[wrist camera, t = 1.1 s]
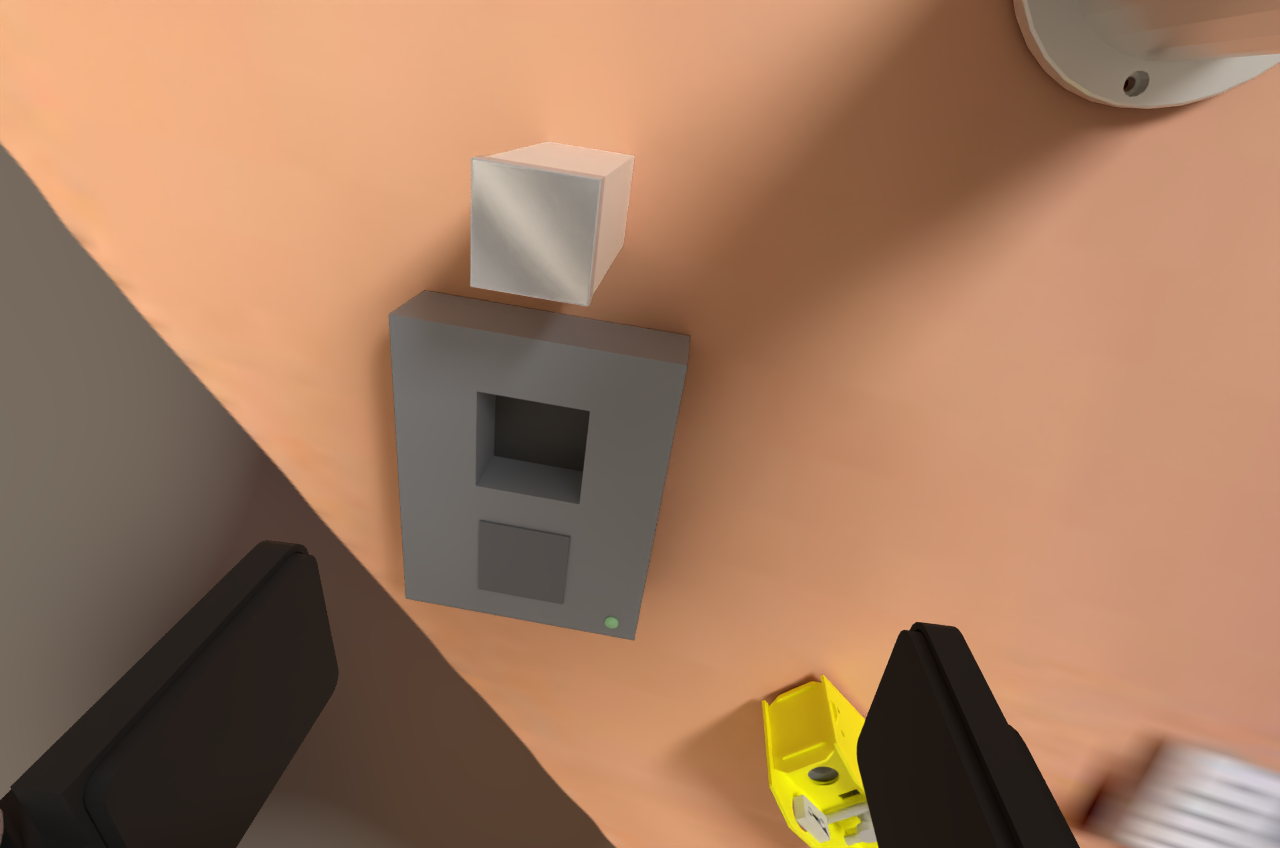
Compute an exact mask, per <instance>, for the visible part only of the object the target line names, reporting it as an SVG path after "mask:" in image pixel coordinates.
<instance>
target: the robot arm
mask: <svg viewBox="0 0 1280 848" xmlns="http://www.w3.org/2000/svg"><path fill="white" fill-rule="evenodd" d="M1013 3H1014V9H1015V15H1016V19H1017V21H1018V24H1019V27H1020V29H1021V32H1022V34H1023V37H1024V40H1025V42H1026V45H1027V47H1028V48H1029V50H1030V51H1031V53H1032V54H1033V56H1034V57H1035V58H1036V60H1037V61H1038V63H1039V64H1040V66H1041V67H1042V69H1043V70H1044V71H1045V72H1046V73H1047V74H1048V75H1050V76H1051V77H1052V78H1053V79H1054V80H1055V81H1057V82H1058V83H1059V84H1060V85H1061V86H1062V87H1064V88H1065V89H1066V90H1068V91H1070V92H1072V93H1074V94H1076V95H1079V96H1081V97H1083V98H1085V99H1087V100H1089V101H1091V102H1095V103H1100V104H1105V105H1109V106H1114V107H1118V108H1141V109H1151V108H1161V107H1172V106H1182V105H1185V104H1189V103H1193V102H1196V101H1200V100H1203V99H1207V98H1211V97H1214V96H1218V95H1220V94H1222V93H1224V92H1227V91H1229V90H1231V89H1233V88H1236V87H1238V86H1240V85H1242V84H1245V83H1247V82H1249V81H1251V80H1253V79H1255V78H1257V77H1258V76H1260V75H1262V74H1263V73H1265V72H1267V71H1268V70H1270V69H1271V68H1273V67H1275V66H1276V65H1278V64H1279V63H1280V0H1013ZM1127 78H1128V81H1129V83H1128V86H1127V88H1126V89H1125V90H1123V88H1124V83H1125V81H1126V79H1127ZM337 680H338V666H337V661H336V656H335V651H334V646H333V641H332V636H331V631H330V626H329V621H328V616H327V611H326V606H325V601H324V596H323V591H322V586H321V581H320V576H319V571H318V565H317V562H316V559H315V557H314V556H312V555H309V554H308V552H307V549H306V548H305V547H304V546H303V545H300V544H293V543H285V542H277V541H269V540H266V541H262V542H260V543H259V544H258V545H256V546H255V547H254V548H253V549H252V550H251V551H250V552H249V553H248V554H247V555H246V556H245V557H244V558H243V559H242V560H241V561H240V562H239V563H238V564H237V565H236V566H235V567H234V568H233V569H232V570H231V571H230V572H229V573H228V574H227V575H226V576H225V577H224V578H223V579H221V580H220V581H219V583H217V584H216V586H214V587H213V588H212V589H211V590H210V591H209V592H208V593H207V594H206V595H205V596H204V597H203V598H202V599H201V600H200V601H199V602H198V603H197V604H196V605H195V606H194V607H193V608H192V609H191V610H190V611H189V612H188V613H187V614H186V615H185V616H184V617H183V618H182V619H181V620H180V621H179V622H178V623H177V624H176V625H175V626H174V627H173V628H172V629H171V630H170V631H169V632H168V633H166V634H165V636H164V637H162V638H161V640H159V641H158V642H157V643H156V644H155V645H154V646H153V647H152V648H151V649H150V650H149V651H148V652H147V653H146V654H145V655H144V656H143V657H142V658H141V659H140V660H139V661H138V662H137V663H136V664H135V665H134V666H133V667H132V668H131V669H130V670H129V671H128V672H127V673H126V674H125V675H124V676H123V677H122V678H121V679H120V680H119V681H118V682H117V683H116V684H115V685H114V686H113V687H112V688H110V689H109V690H108V691H107V692H106V693H105V694H104V695H103V696H102V697H101V698H100V699H99V700H98V701H97V702H96V703H95V704H94V705H93V706H92V707H91V708H90V709H89V710H88V711H87V712H86V713H85V714H84V715H83V716H82V717H81V718H80V719H79V720H78V721H77V722H76V723H75V724H74V725H73V726H72V727H71V728H70V729H69V730H68V731H67V732H66V733H65V734H64V735H63V736H62V737H61V738H60V739H59V740H57V741H56V742H55V743H54V744H53V746H51V747H50V748H49V749H48V750H47V751H46V752H45V753H44V754H43V755H42V756H41V757H40V758H39V759H38V760H37V761H36V762H35V763H34V764H33V765H32V766H31V767H30V768H29V769H28V770H27V771H26V772H25V773H24V774H23V775H22V776H21V777H20V778H19V779H18V780H17V781H16V782H15V783H14V784H13V785H12V786H11V790H10V791H9V792H8V793H7V794H6V795H5V796H4V797H3V798H2V799H1V800H0V848H236V847H237V846H238V844H239V842H240V841H241V839H242V838H243V836H244V834H245V833H246V831H247V830H248V828H249V826H250V825H251V823H252V822H253V820H254V818H255V817H256V815H257V814H258V812H259V810H260V809H261V807H262V806H263V804H264V802H265V801H266V799H267V798H268V796H269V794H270V793H271V791H272V790H273V788H274V786H275V785H276V783H277V782H278V780H279V778H280V777H281V775H282V774H283V772H284V770H285V769H286V767H287V766H288V764H289V763H290V761H291V759H292V758H293V756H294V754H295V753H296V751H297V750H298V748H299V746H300V745H301V743H302V742H303V740H304V739H305V737H306V735H307V734H308V732H309V730H310V729H311V727H312V726H313V724H314V723H315V721H316V719H317V718H318V716H319V715H320V713H321V711H322V710H323V708H324V707H325V705H326V703H327V702H328V700H329V699H330V697H331V695H332V694H333V692H334V690H335V687H336V684H337ZM857 762H858V767H859V771H860V775H861V779H862V783H863V787H864V791H865V795H866V799H867V803H868V807H869V811H870V815H871V819H872V824H873V828H874V832H875V836H876V840H877V844H878V848H1080V847H1079V845H1078V843H1077V841H1076V839H1075V837H1074V835H1073V834H1072V832H1071V830H1070V828H1069V826H1068V824H1067V822H1066V820H1065V818H1064V816H1063V814H1062V813H1061V811H1060V809H1059V807H1058V805H1057V803H1056V801H1055V799H1054V797H1053V795H1052V793H1051V792H1050V790H1049V788H1048V786H1047V784H1046V782H1045V780H1044V778H1043V776H1042V774H1041V772H1040V771H1039V769H1038V767H1037V765H1036V763H1035V761H1034V759H1033V757H1032V755H1031V753H1030V751H1029V749H1028V748H1027V746H1026V744H1025V742H1024V741H1023V739H1022V738H1021V736H1020V735H1019V733H1018V732H1017V731H1016V730H1015V729H1014V728H1013V727H1012V726H1010V725H1008V723H1007V721H1006V719H1005V717H1004V715H1003V713H1002V711H1001V709H1000V708H999V706H998V704H997V702H996V700H995V698H994V696H993V694H992V692H991V690H990V688H989V686H988V684H987V682H986V680H985V678H984V676H983V674H982V672H981V670H980V668H979V666H978V664H977V663H976V661H975V659H974V657H973V655H972V653H971V651H970V649H969V647H968V645H967V643H966V641H965V639H964V637H963V635H962V634H961V632H960V631H959V629H957V628H956V627H953V626H945V625H937V624H929V623H922V622H916V623H914V624H913V625H912V627H911V629H910V631H908V630H902V631H901V632H900V634H899V636H898V638H897V641H896V643H895V646H894V648H893V651H892V653H891V656H890V659H889V661H888V664H887V666H886V669H885V671H884V674H883V676H882V679H881V682H880V684H879V687H878V689H877V692H876V694H875V697H874V699H873V702H872V704H871V707H870V710H869V712H868V715H867V717H866V720H865V722H864V725H863V727H862V730H861V732H860V735H859V738H858V741H857Z"/></svg>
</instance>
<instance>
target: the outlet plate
mask: <svg viewBox="0 0 1280 848" xmlns="http://www.w3.org/2000/svg"><path fill="white" fill-rule="evenodd" d="M389 327H390V344H391V361H392V377H393V394H394V411H395V427H396V444H397V461H398V478H399V494H400V511H401V528H402V544H403V561H404V578H405V595H406V599H411V600H416V601H422V602H427V603H433V604H438V605H444V606H449V607H455V608H460V609H466V610H471V611H476V612H482V613H487V614H493V615H498V616H504V617H509V618H515V619H520V620H525V621H531V622H536V623H542V624H547V625H553V626H558V627H564V628H569V629H574V630H580V631H585V632H591V633H596V634H602V635H607V636H613V637H618V638H624V639H629V640H634V639H635V633H636V628H637V623H638V618H639V613H640V608H641V603H642V597H643V592H644V587H645V582H646V577H647V572H648V567H649V561H650V556H651V551H652V546H653V541H654V536H655V531H656V525H657V520H658V515H659V510H660V505H661V500H662V495H663V489H664V484H665V479H666V474H667V469H668V464H669V459H670V453H671V448H672V443H673V438H674V433H675V428H676V423H677V417H678V412H679V407H680V402H681V397H682V392H683V387H684V381H685V376H686V371H687V366H688V355H689V344H690V336H689V335H683V334H677V333H671V332H665V331H659V330H653V329H648V328H642V327H636V326H630V325H624V324H618V323H613V322H607V321H601V320H595V319H589V318H583V317H577V316H572V315H566V314H560V313H554V312H548V311H542V310H537V309H531V308H525V307H519V306H513V305H507V304H501V303H496V302H490V301H484V300H478V299H472V298H466V297H461V296H455V295H449V294H443V293H437V292H431V291H425V290H424V291H423V292H421V293H420V294H418V295H417V296H415V297H414V298H412V299H411V300H409V301H408V302H406V303H405V304H403V305H402V306H400V307H399V308H397V309H396V310H394V311H393V312H391V313H389Z"/></svg>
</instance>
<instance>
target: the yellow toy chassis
mask: <svg viewBox="0 0 1280 848" xmlns="http://www.w3.org/2000/svg"><path fill="white" fill-rule="evenodd" d="M821 681H822V683H820V682H814V681H811V682H808V683H806V684H804V685H801V686H799V687H797V688H794V689H792V690H790V691H787V692H785V693H783V694H780V695H779V696H778V697H777V698H776V699H775V700H774V701H773V703H772V704H771V705H769V704H768V703H767V702H766V701H765V700H763V701H762V709H763V721H764V733H765V745H766V757H767V769H768V781H769V787H770V789H771V791H772V793H773V796H774V798H775V800H776V802H777V804H778V806H779V808H780V810H781V812H782V814H783V817H784V819H785V821H786V823H787V825H788V827H789V828H790V829H791V830H792V831H793V832H794V833H796V834H797V835H798V836H799V837H800V838H801V839H802V840H803V841H804V842H805V843H807V844H808V845H809V846H810V847H811V848H878V844H877V840H876V836H875V832H874V828H873V824H872V819H871V815H870V811H869V807H868V803H867V799H866V795H865V791H864V787H863V783H862V779H861V775H860V771H859V767H858V762H857V741H858V738H859V735H860V732H861V730H862V727H863V725H864V722H865V719H864V718H863V717H862V716H861V715H860V714H859V713H858V712H857V711H856V709H855V708H854V707H853V706H852V705H851V704H850V703H849V702H848V701H847V700H846V699H845V698H844V697H843V695H842V694H841V693H840V692H839V691H838V690H837V689H836V688H835V687H834V686H833V685H832V684H831V683H830V681H829V680H828V679H827V678H826V677H825V676H824V675H821ZM792 802H794V811H795V816H794V813H793V808H792ZM797 822H798V823H799V824H800V825H801V826H802V827H803V828H804V829H805V831H803V830H802V829H801V828H800V827H799V825H798V823H797Z"/></svg>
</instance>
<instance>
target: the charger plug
mask: <svg viewBox="0 0 1280 848" xmlns="http://www.w3.org/2000/svg"><path fill="white" fill-rule="evenodd" d="M634 159H635V155H629V154H623V153H617V152H611V151H605V150H599V149H592V148H586V147H580V146H574V145H568V144H562V143H556V142H550V141H548V142H543V143H539V144H535V145H531V146H527V147H523V148H519V149H515V150H511V151H506V152H502V153H498V154H494V155H490V156H486V157H485V156H476V157H472V158H471V272H470V287H476V288H482V289H487V290H493V291H499V292H505V293H511V294H517V295H523V296H529V297H534V298H540V299H546V300H552V301H558V302H564V303H570V304H575V305H581V306H587V307H588V306H589V304H590V303H591V301H592V296H593V294H594V292H595V291H596V289H597V287H598V286H599V284H600V283H601V281H602V279H603V278H604V276H605V274H606V273H607V271H608V269H609V268H610V266H611V264H612V263H613V261H614V260H615V258H616V256H617V255H618V253H619V251H620V250H621V248H622V246H623V245H624V238H625V230H626V222H627V214H628V207H629V199H630V191H631V183H632V175H633V167H634Z"/></svg>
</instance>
